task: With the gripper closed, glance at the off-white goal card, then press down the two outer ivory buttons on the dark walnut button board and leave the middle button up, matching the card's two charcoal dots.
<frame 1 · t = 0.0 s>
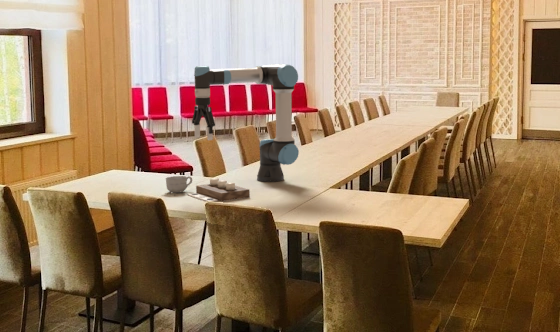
hand: (203, 139, 371), 28 cm above the table, fingers open, 13 cm apart
teacup: (179, 192, 379), on the table
button a: (214, 181, 374), point 6 cm above the table, slide at 0.0 cm
button c: (230, 186, 361), point 6 cm above the table, slide at 0.0 cm
board: (222, 195, 369), on the table
goal card: (202, 198, 362), on the table
button b: (222, 184, 368), point 6 cm above the table, slide at 0.0 cm
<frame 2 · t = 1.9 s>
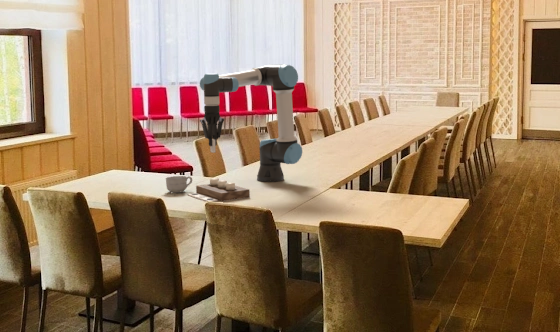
hand: (212, 152, 364), 22 cm above the table, fingers closed
nothing on the table moved.
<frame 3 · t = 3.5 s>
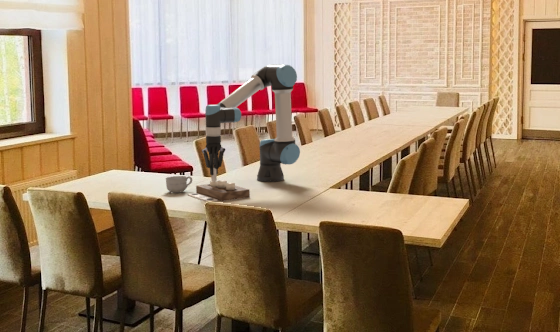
hand: (214, 181, 374), 6 cm above the table, fingers closed
button a: (214, 184, 375), point 4 cm above the table, slide at 1.4 cm, touching gripper
everything else where it was.
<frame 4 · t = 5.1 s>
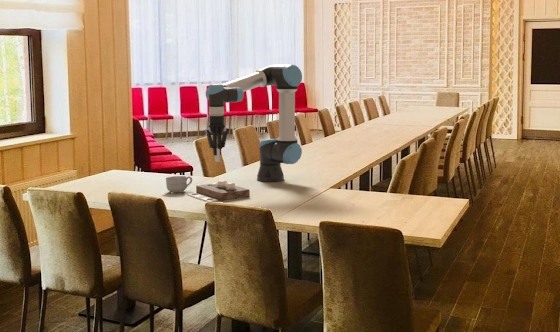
hand: (217, 161, 369), 17 cm above the table, fingers closed
button a: (214, 186, 375), point 3 cm above the table, slide at 2.5 cm
everything else where it was.
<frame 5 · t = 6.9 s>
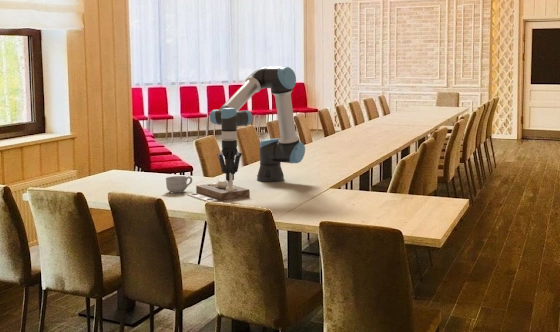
hand: (230, 186, 361), 6 cm above the table, fingers closed
button c: (230, 190, 362), point 4 cm above the table, slide at 2.1 cm, touching gripper
everything else where it was.
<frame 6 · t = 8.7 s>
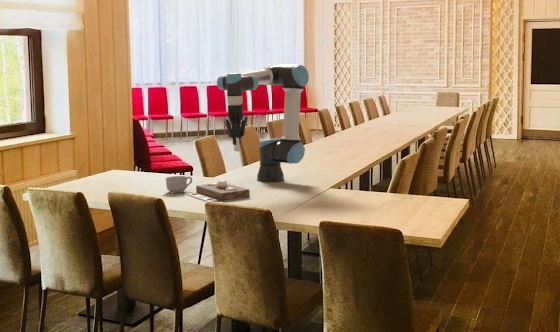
hand: (237, 150, 368), 22 cm above the table, fingers closed
button c: (230, 191, 362), point 3 cm above the table, slide at 2.5 cm
everything else where it was.
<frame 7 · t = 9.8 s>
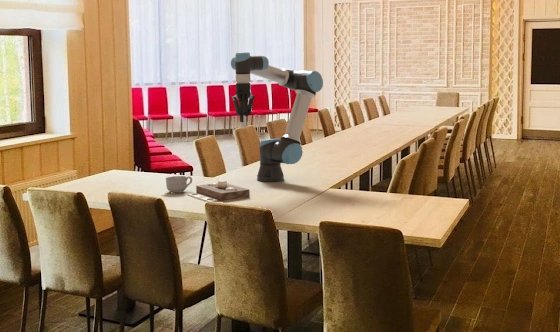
hand: (243, 128, 378), 32 cm above the table, fingers closed
nothing on the table moved.
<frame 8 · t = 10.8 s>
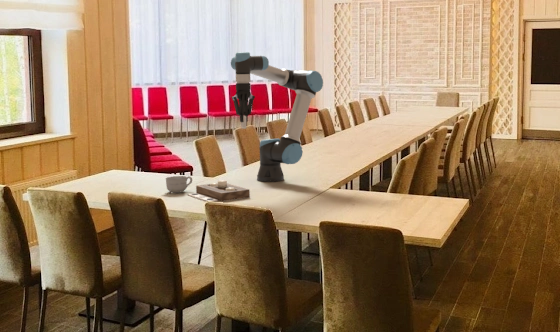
hand: (243, 128, 378), 32 cm above the table, fingers closed
nothing on the table moved.
at the end: button a slide at 2.5 cm; button c slide at 2.5 cm; button b slide at 0.0 cm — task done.
